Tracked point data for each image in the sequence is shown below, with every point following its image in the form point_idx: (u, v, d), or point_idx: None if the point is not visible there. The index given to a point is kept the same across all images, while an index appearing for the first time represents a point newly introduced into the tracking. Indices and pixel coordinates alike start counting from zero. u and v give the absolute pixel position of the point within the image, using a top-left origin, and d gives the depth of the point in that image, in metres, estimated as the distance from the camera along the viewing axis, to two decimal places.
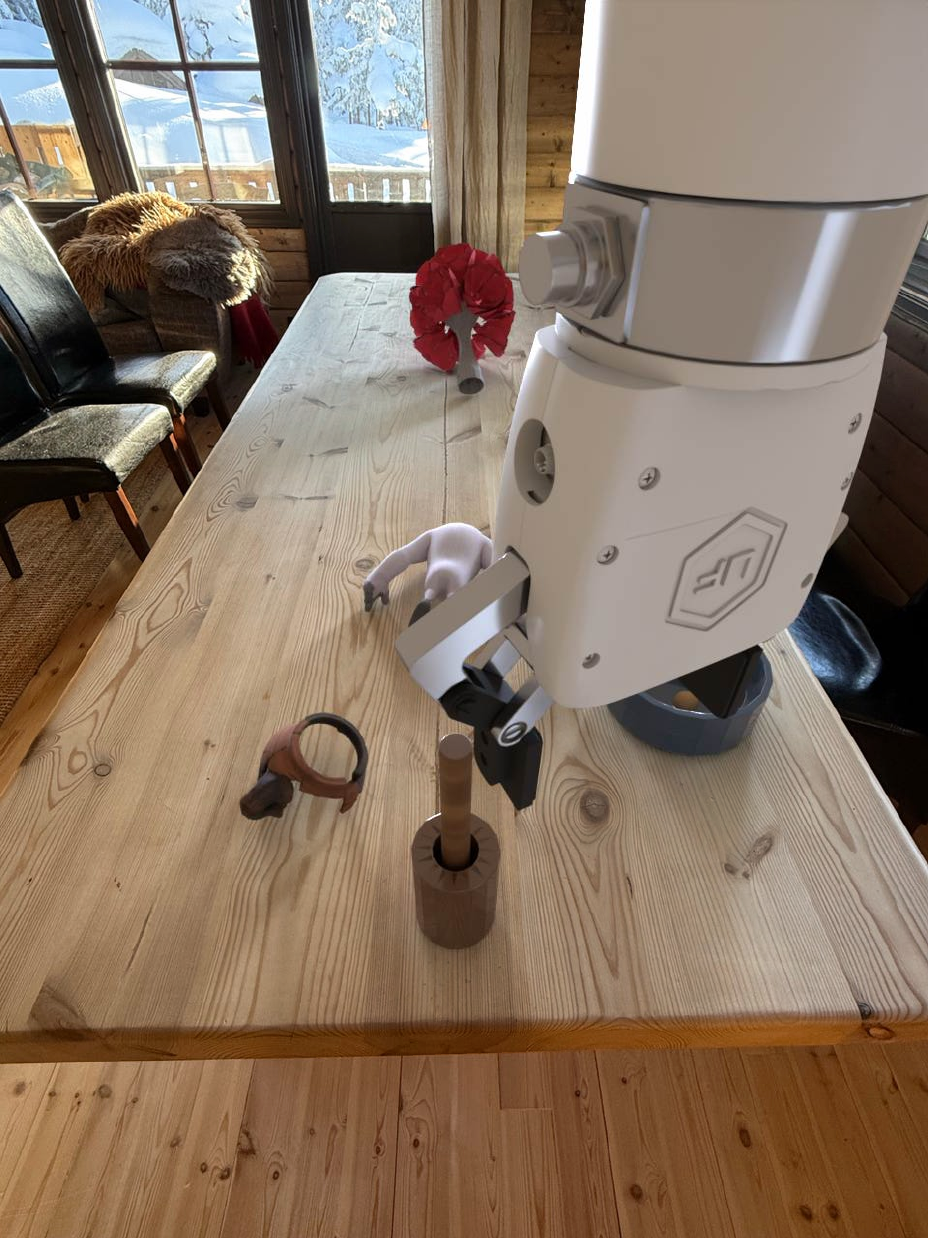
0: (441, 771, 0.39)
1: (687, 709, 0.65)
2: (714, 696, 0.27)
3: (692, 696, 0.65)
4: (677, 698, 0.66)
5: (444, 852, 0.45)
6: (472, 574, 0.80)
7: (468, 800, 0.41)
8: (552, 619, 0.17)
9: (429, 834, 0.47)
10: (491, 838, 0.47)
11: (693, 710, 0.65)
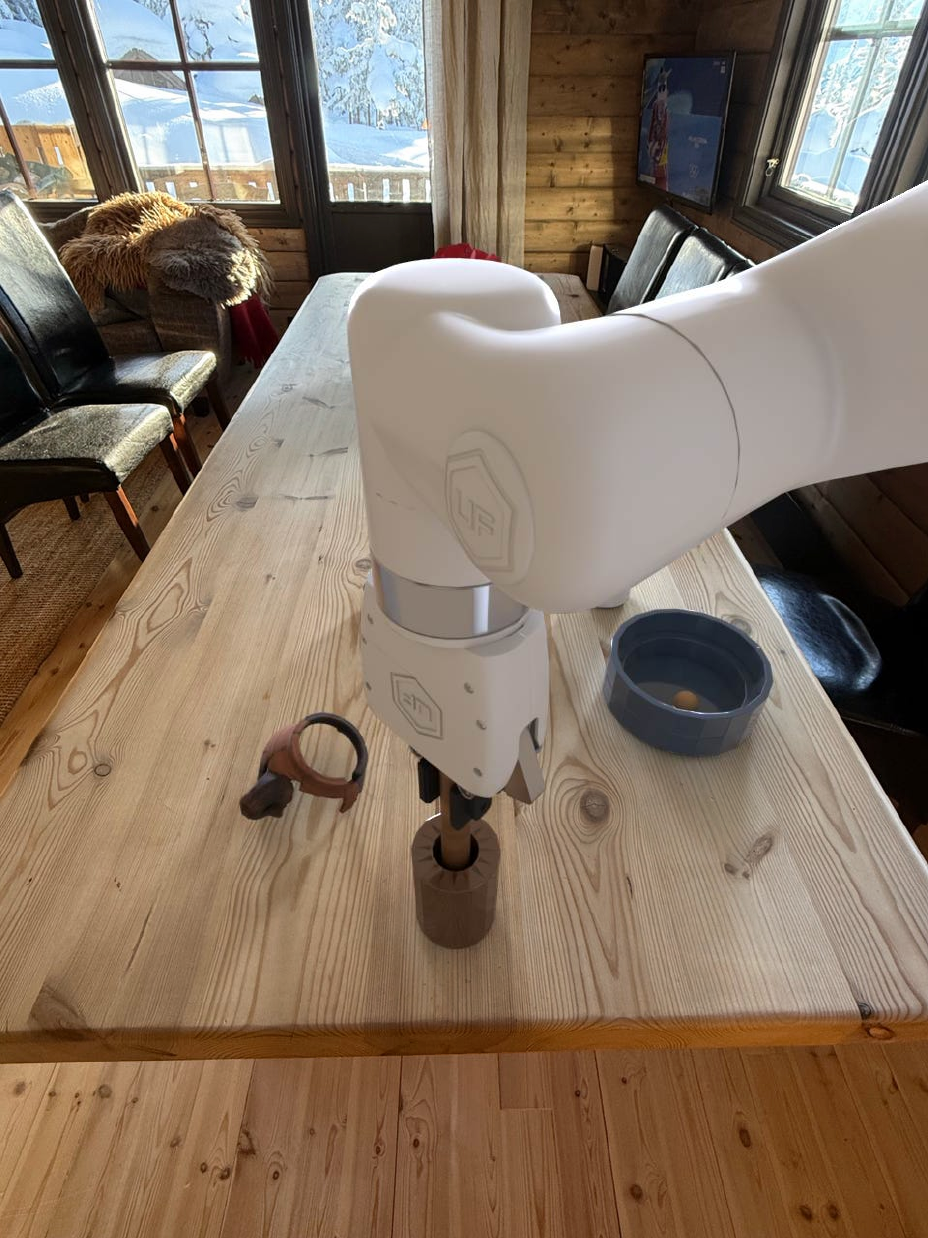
0: (441, 771, 0.39)
1: (687, 709, 0.65)
2: None
3: (692, 696, 0.65)
4: (677, 698, 0.66)
5: (444, 852, 0.45)
6: None
7: None
8: None
9: (429, 834, 0.47)
10: (491, 838, 0.47)
11: (693, 710, 0.65)
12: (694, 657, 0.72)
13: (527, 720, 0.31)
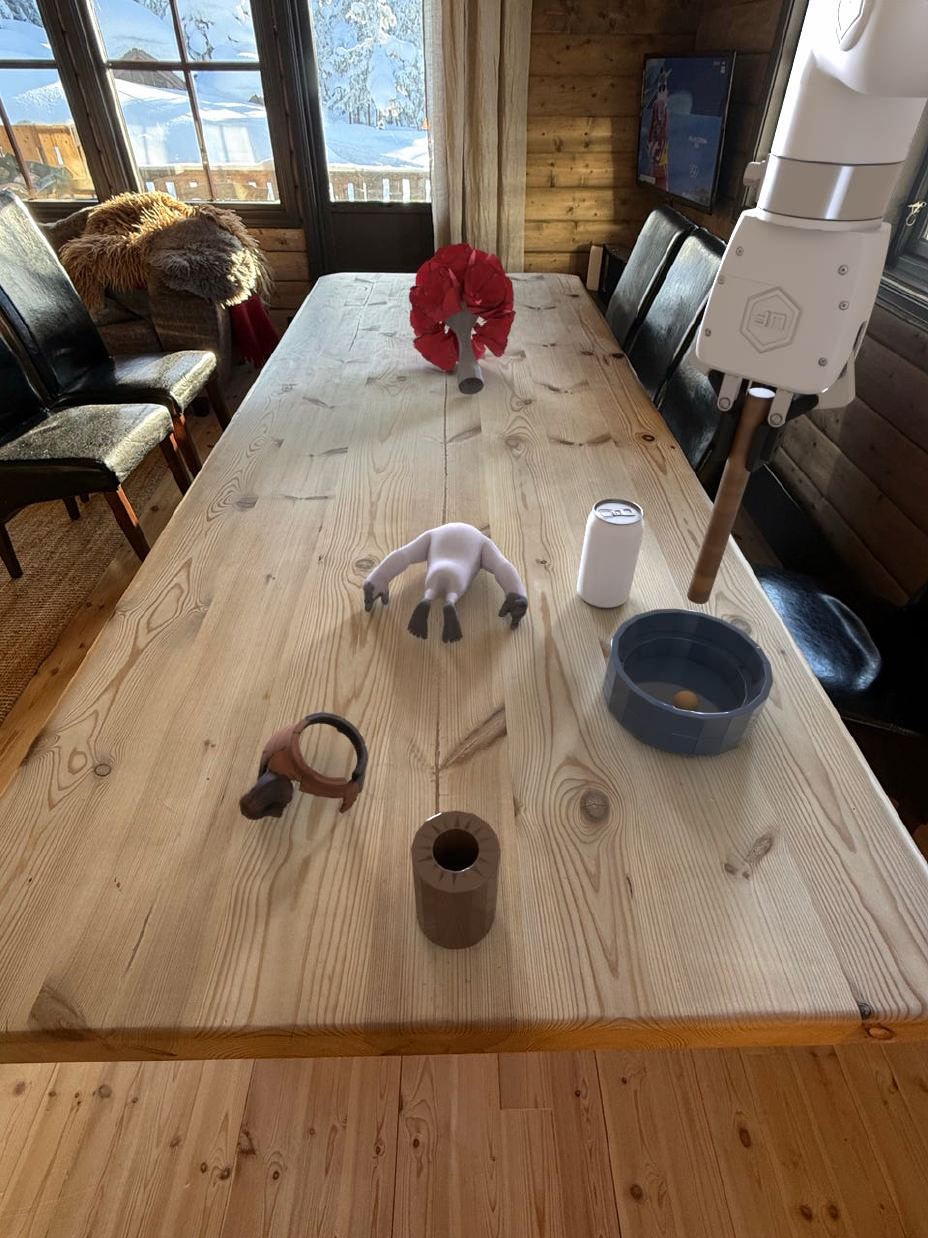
0: (746, 417, 0.50)
1: (687, 709, 0.65)
2: None
3: (692, 696, 0.65)
4: (677, 698, 0.66)
5: (716, 519, 0.56)
6: (472, 574, 0.80)
7: None
8: None
9: (429, 834, 0.47)
10: (491, 838, 0.47)
11: (693, 710, 0.65)
12: (694, 657, 0.72)
13: (865, 316, 0.43)
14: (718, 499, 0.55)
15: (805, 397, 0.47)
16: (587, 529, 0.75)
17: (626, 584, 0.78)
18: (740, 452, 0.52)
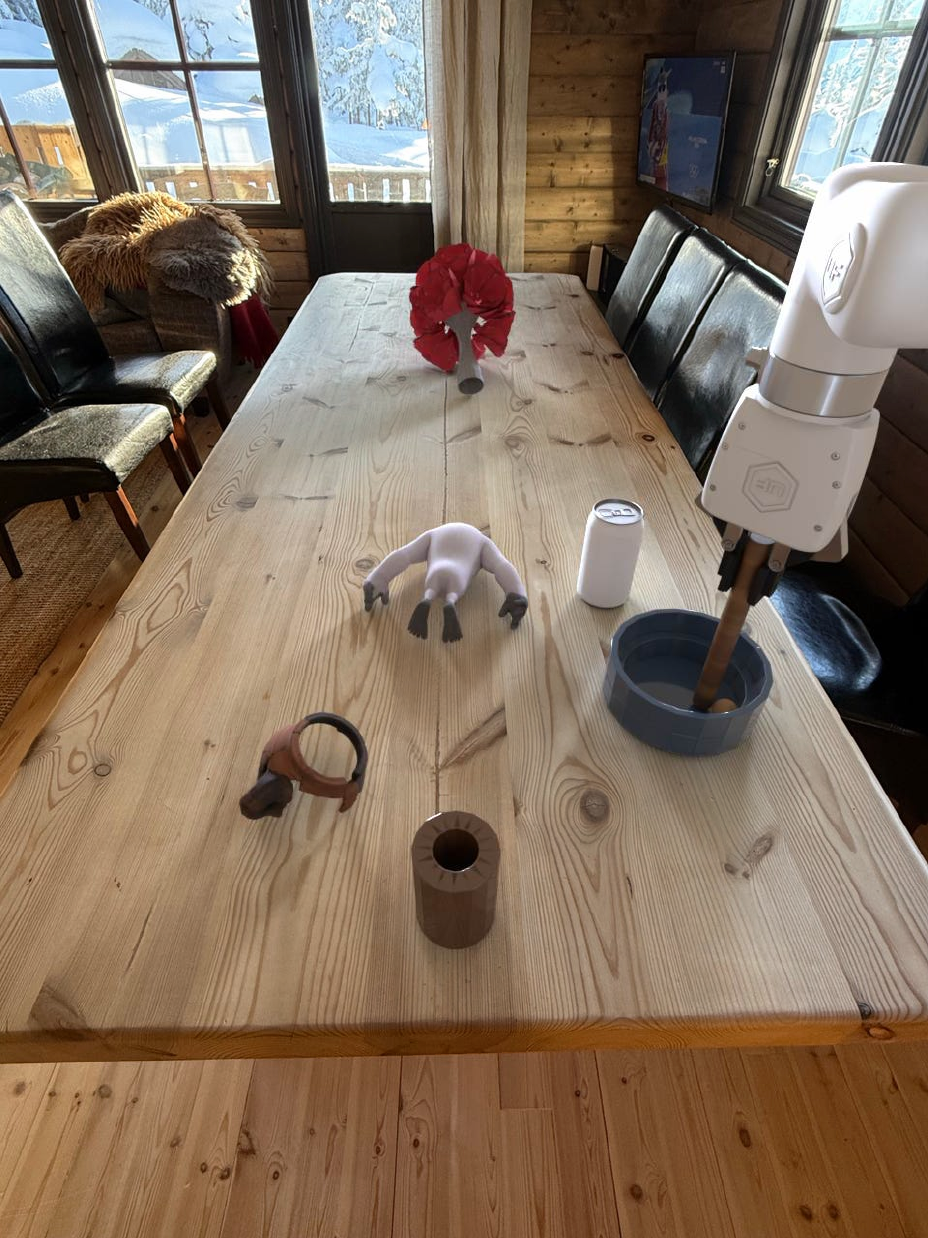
0: (748, 558, 0.54)
1: None
2: None
3: None
4: None
5: (720, 640, 0.60)
6: (472, 574, 0.80)
7: None
8: None
9: (429, 834, 0.47)
10: (491, 838, 0.47)
11: None
12: (694, 657, 0.72)
13: (856, 489, 0.47)
14: (722, 623, 0.59)
15: None
16: (587, 529, 0.75)
17: (626, 584, 0.78)
18: (742, 587, 0.56)
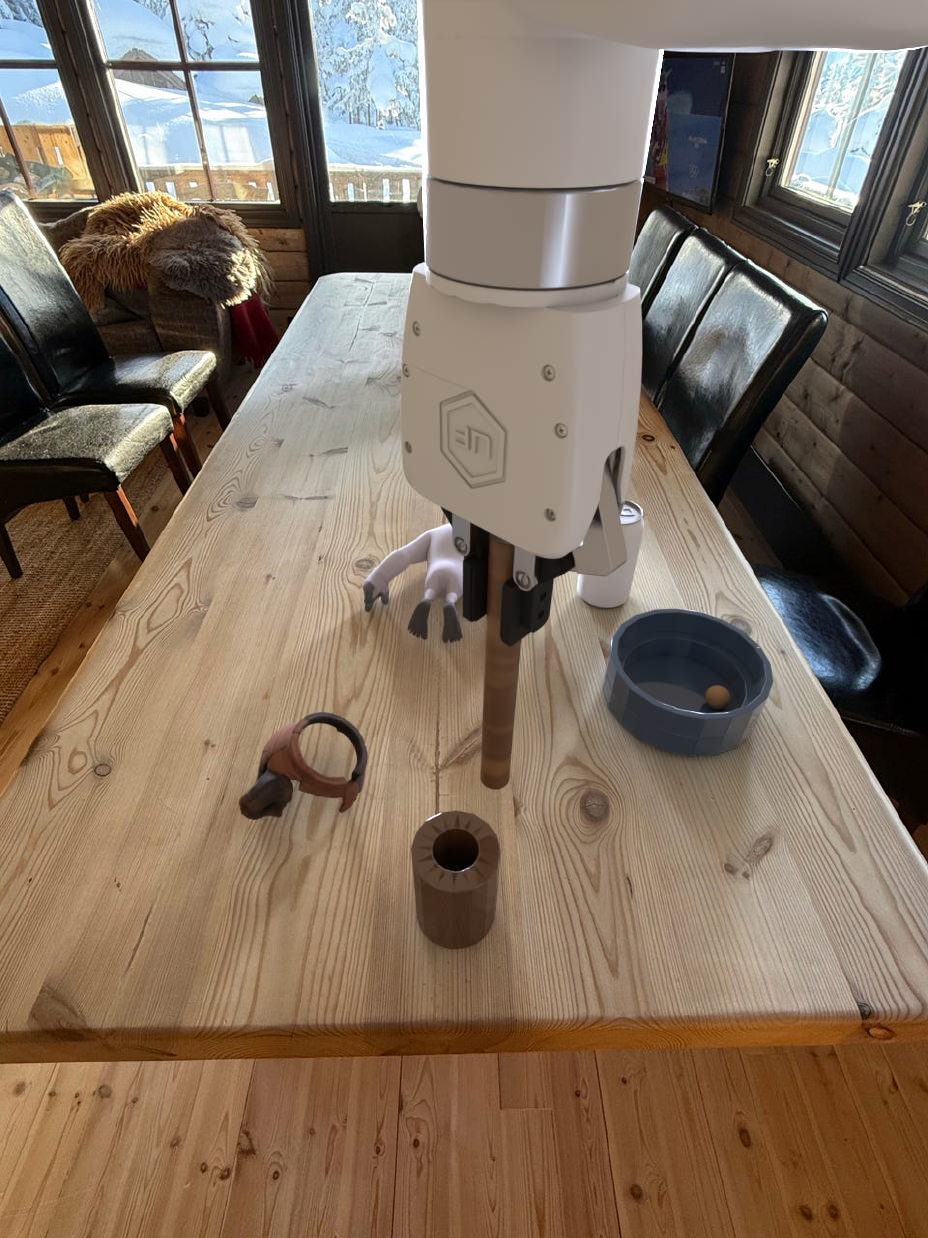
0: (492, 568, 0.33)
1: (713, 695, 0.66)
2: None
3: (719, 707, 0.66)
4: (728, 696, 0.66)
5: (487, 693, 0.39)
6: None
7: None
8: None
9: (429, 834, 0.47)
10: (491, 838, 0.47)
11: (707, 698, 0.66)
12: (694, 657, 0.72)
13: (614, 442, 0.25)
14: (485, 668, 0.38)
15: None
16: None
17: (626, 584, 0.78)
18: (495, 614, 0.34)
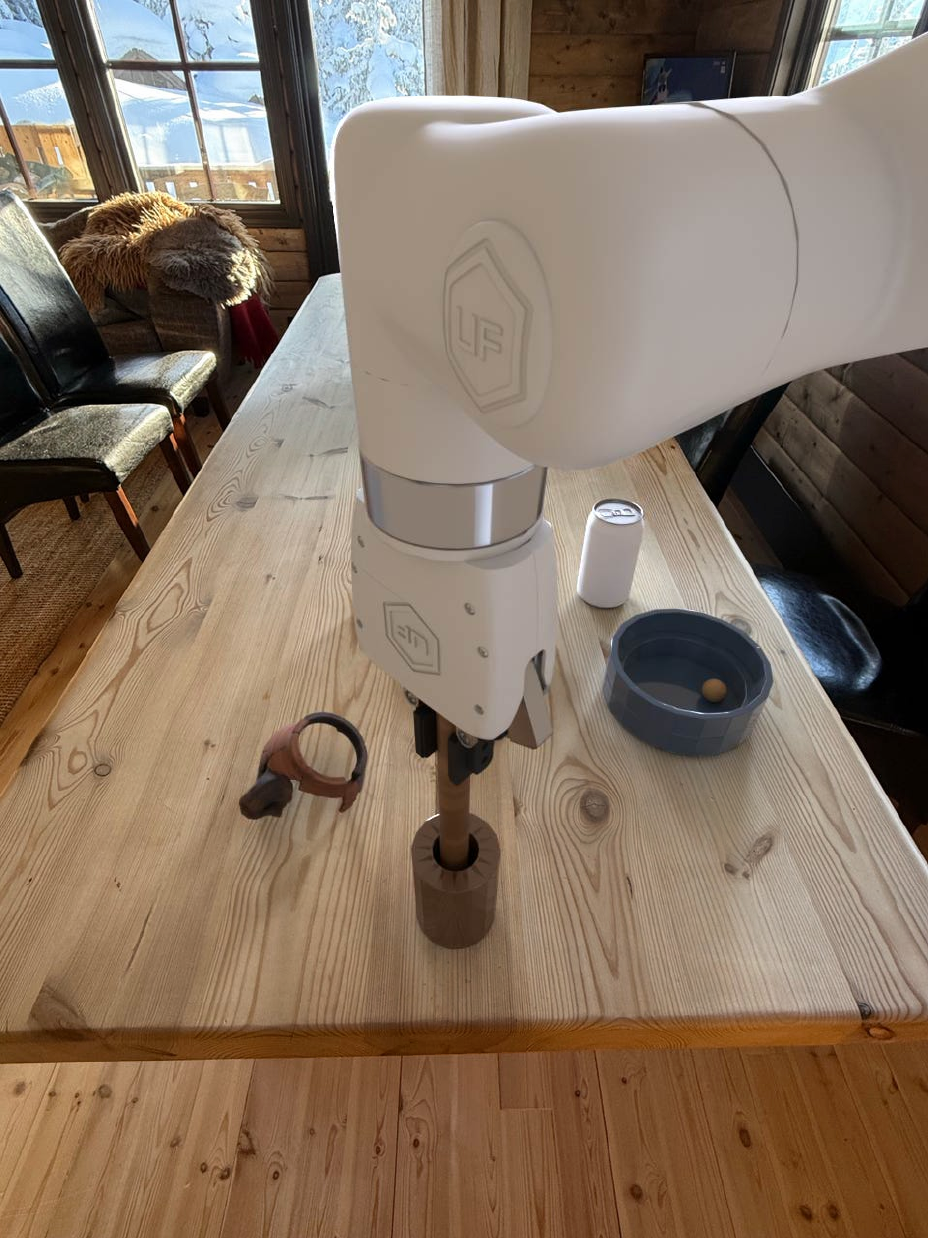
0: (439, 720, 0.36)
1: (707, 683, 0.67)
2: None
3: (717, 693, 0.66)
4: (722, 682, 0.67)
5: (442, 813, 0.42)
6: None
7: None
8: None
9: (429, 834, 0.47)
10: (491, 838, 0.47)
11: (703, 689, 0.67)
12: (694, 657, 0.72)
13: (533, 651, 0.28)
14: (439, 793, 0.41)
15: None
16: (587, 529, 0.75)
17: (626, 584, 0.78)
18: (444, 755, 0.38)
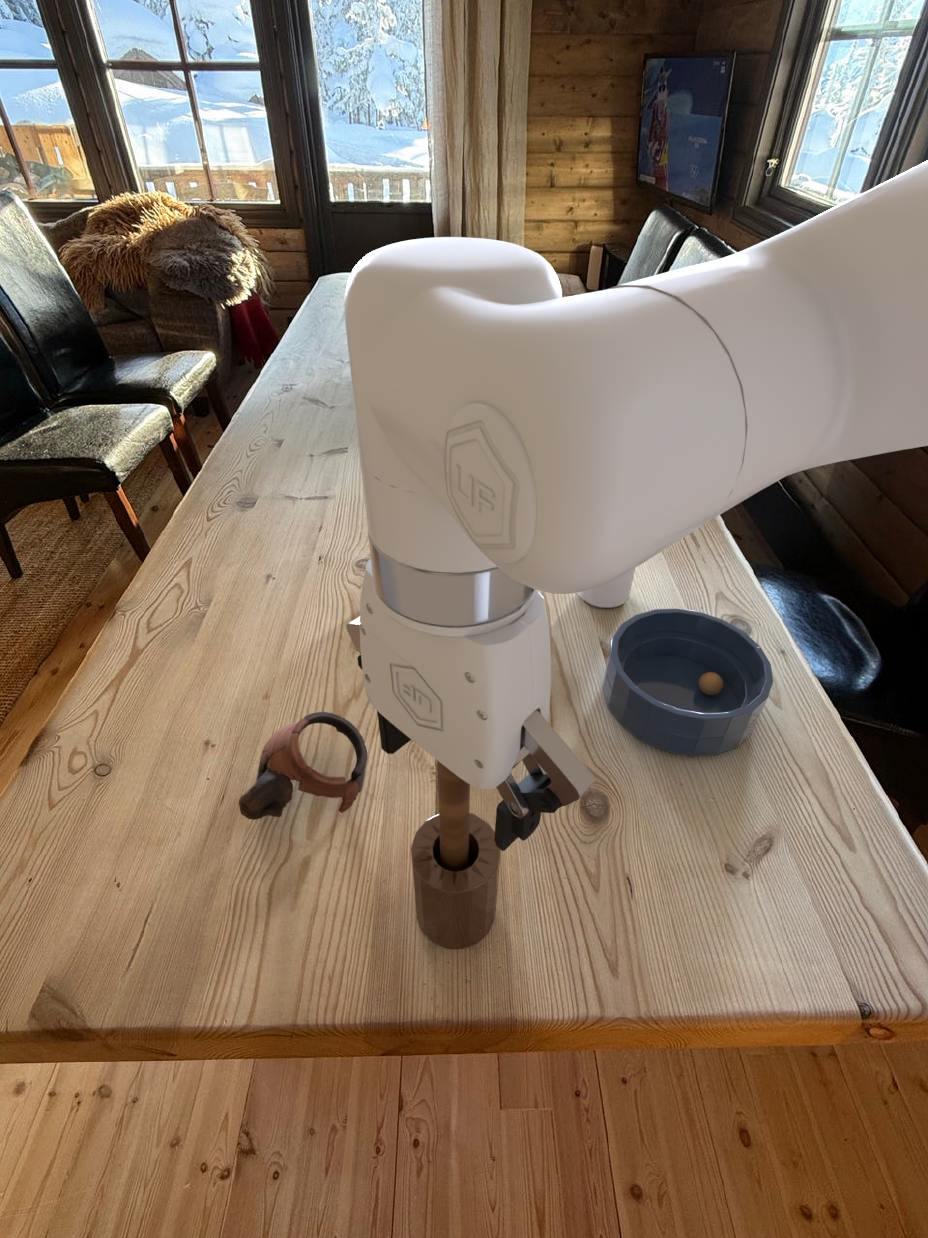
0: (439, 770, 0.39)
1: (701, 676, 0.68)
2: None
3: (712, 678, 0.67)
4: None
5: (443, 851, 0.45)
6: None
7: (466, 798, 0.41)
8: None
9: (429, 834, 0.47)
10: (491, 838, 0.47)
11: (699, 681, 0.68)
12: (694, 657, 0.72)
13: (529, 711, 0.31)
14: (440, 832, 0.44)
15: (543, 797, 0.32)
16: None
17: (626, 584, 0.78)
18: (444, 800, 0.41)
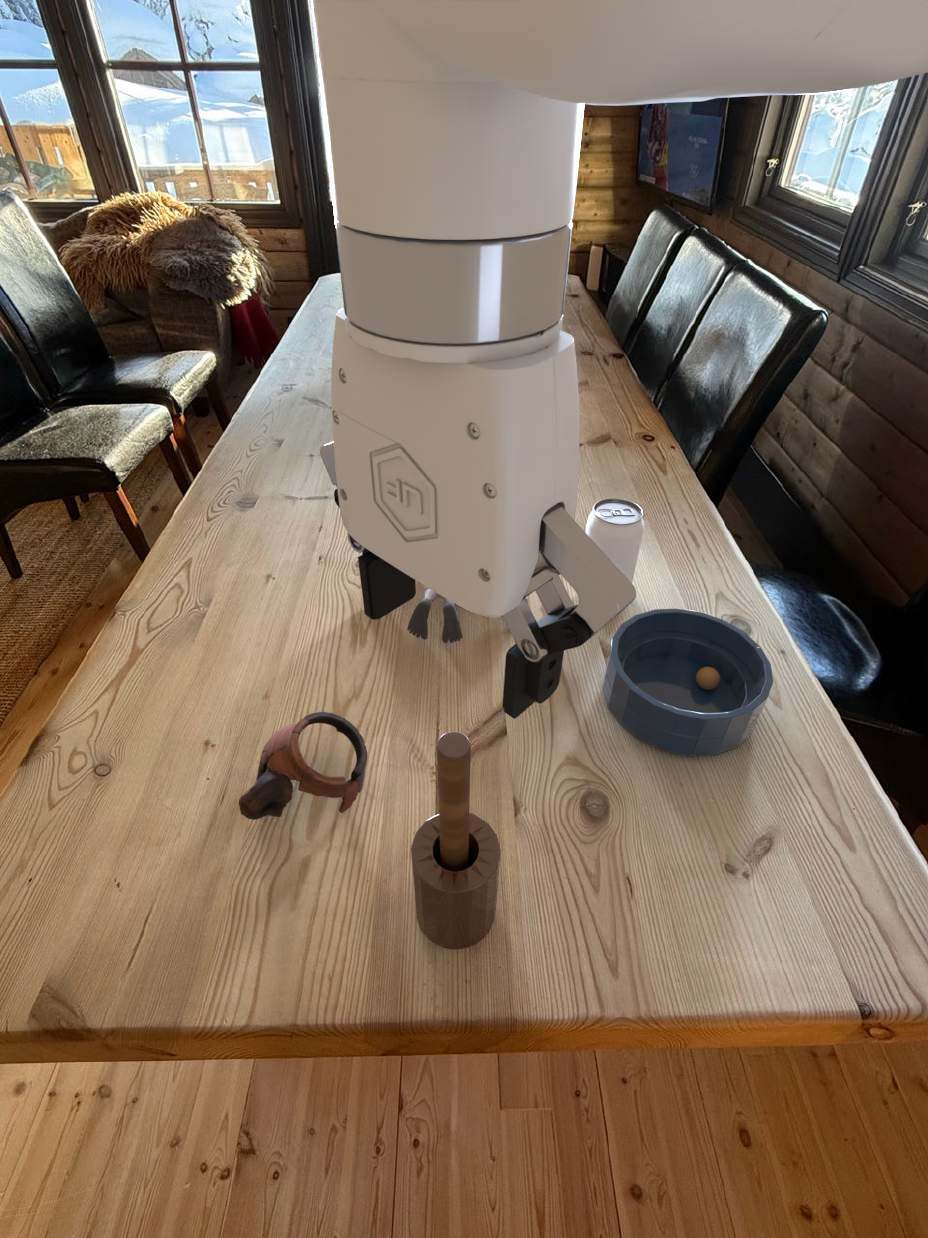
0: (439, 770, 0.39)
1: (696, 674, 0.69)
2: None
3: (706, 668, 0.68)
4: None
5: (443, 851, 0.45)
6: None
7: (466, 798, 0.41)
8: None
9: (429, 834, 0.47)
10: (491, 838, 0.47)
11: (696, 677, 0.69)
12: (694, 657, 0.72)
13: (551, 499, 0.23)
14: (440, 832, 0.44)
15: (568, 624, 0.25)
16: (587, 529, 0.75)
17: None
18: (444, 800, 0.41)
